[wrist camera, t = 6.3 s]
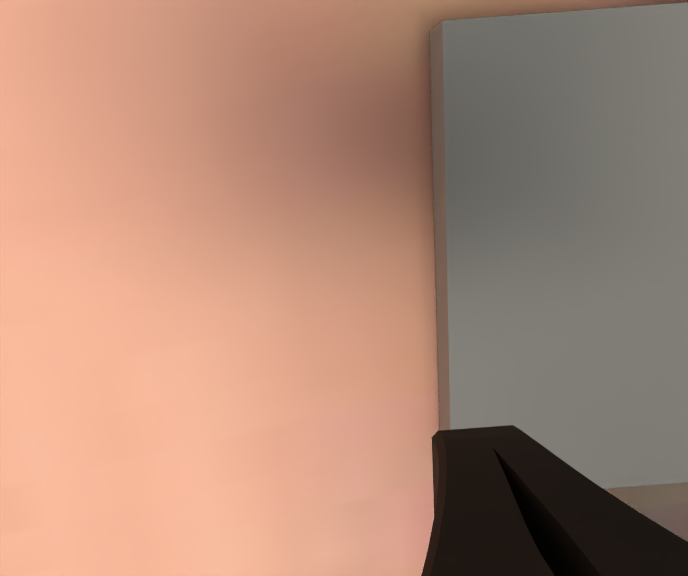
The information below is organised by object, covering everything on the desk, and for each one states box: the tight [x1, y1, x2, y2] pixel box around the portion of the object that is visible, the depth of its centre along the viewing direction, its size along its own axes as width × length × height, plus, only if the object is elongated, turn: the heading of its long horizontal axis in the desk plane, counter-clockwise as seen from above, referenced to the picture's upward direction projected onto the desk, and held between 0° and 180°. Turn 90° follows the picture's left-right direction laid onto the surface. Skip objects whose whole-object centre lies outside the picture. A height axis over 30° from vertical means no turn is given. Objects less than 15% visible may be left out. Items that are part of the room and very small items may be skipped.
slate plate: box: [429, 2, 688, 489], centre depth 17 cm, size 14×13×2 cm
